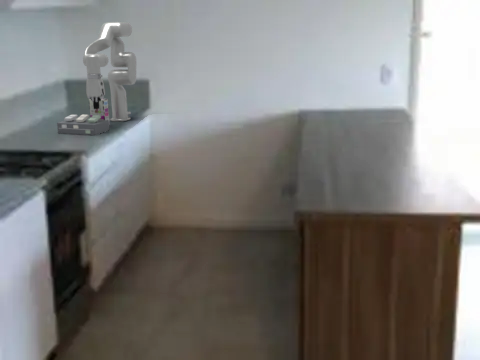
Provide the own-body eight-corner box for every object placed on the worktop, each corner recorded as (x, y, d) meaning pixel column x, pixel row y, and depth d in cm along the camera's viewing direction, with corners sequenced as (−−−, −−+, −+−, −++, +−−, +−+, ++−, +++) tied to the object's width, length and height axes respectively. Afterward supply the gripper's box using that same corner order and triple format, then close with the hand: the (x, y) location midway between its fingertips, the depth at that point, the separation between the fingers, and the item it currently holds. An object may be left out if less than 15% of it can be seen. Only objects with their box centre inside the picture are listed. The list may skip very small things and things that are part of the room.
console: (72, 128, 419) (71, 117, 418) (109, 130, 410) (108, 119, 408) (57, 133, 407) (56, 121, 405) (95, 135, 397) (94, 123, 395)
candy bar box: (110, 125, 425) (108, 98, 421) (105, 127, 421) (103, 100, 417) (95, 124, 430) (93, 98, 426) (90, 126, 426) (88, 99, 422)
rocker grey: (71, 117, 413) (71, 114, 413) (77, 117, 412) (77, 114, 411) (64, 120, 407) (64, 118, 407) (71, 121, 406) (70, 118, 405)
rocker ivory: (82, 116, 410) (82, 114, 409) (89, 117, 408) (88, 114, 408) (76, 121, 405) (75, 119, 404) (82, 122, 403) (82, 119, 402)
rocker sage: (94, 117, 407) (93, 114, 406) (100, 117, 405) (100, 114, 405) (88, 122, 402) (87, 119, 401) (94, 122, 400) (93, 120, 399)
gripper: (108, 76, 401) (111, 108, 405) (86, 76, 406) (89, 107, 411) (101, 77, 394) (103, 110, 398) (79, 77, 400) (81, 109, 404)
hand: (96, 108), depth 404 cm, fingers closed
